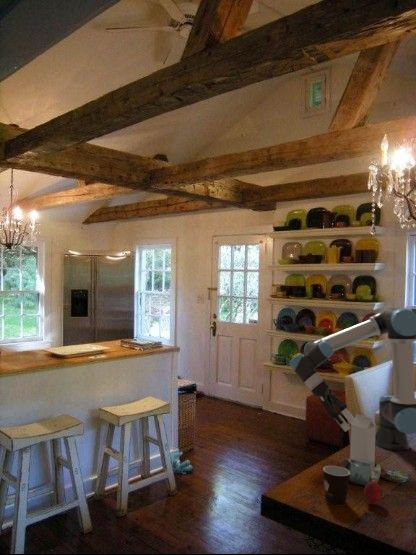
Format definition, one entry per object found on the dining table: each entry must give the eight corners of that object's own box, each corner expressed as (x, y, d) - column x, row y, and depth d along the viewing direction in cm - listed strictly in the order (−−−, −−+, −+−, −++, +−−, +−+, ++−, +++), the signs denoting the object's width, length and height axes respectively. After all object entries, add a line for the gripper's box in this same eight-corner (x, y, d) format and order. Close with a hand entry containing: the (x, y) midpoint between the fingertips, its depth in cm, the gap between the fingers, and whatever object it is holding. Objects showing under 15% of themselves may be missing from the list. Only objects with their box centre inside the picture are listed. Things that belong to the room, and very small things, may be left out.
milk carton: (365, 466, 179) (367, 419, 180) (350, 461, 184) (351, 415, 185) (374, 463, 184) (375, 416, 185) (358, 457, 189) (360, 412, 190)
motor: (349, 466, 178) (349, 447, 179) (380, 473, 173) (381, 453, 173) (339, 483, 161) (340, 462, 162) (374, 491, 156) (374, 469, 156)
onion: (372, 509, 141) (373, 484, 142) (359, 501, 147) (360, 477, 147) (386, 507, 144) (387, 482, 144) (373, 499, 149) (373, 475, 149)
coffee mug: (350, 509, 141) (351, 477, 142) (322, 505, 143) (323, 473, 143) (346, 493, 152) (347, 464, 153) (320, 490, 154) (321, 461, 155)
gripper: (318, 386, 206) (350, 424, 199) (302, 395, 185) (338, 438, 177) (329, 376, 204) (362, 414, 196) (316, 384, 182) (352, 427, 174)
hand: (351, 426), depth 187 cm, fingers open, 13 cm apart
